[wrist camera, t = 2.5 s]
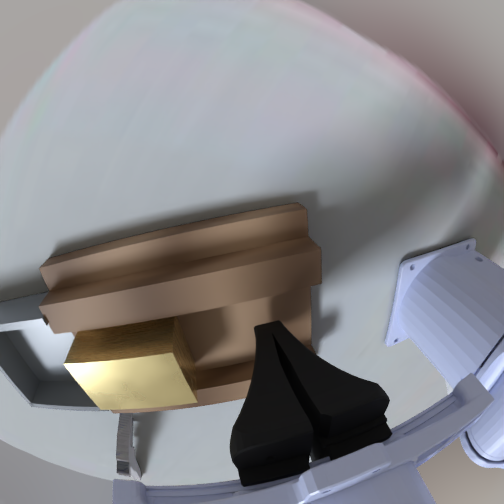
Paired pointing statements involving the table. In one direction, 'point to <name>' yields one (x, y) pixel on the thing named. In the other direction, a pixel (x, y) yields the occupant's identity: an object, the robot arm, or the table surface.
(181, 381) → the block
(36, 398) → the tray
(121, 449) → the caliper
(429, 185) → the table surface
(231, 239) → the slot board
